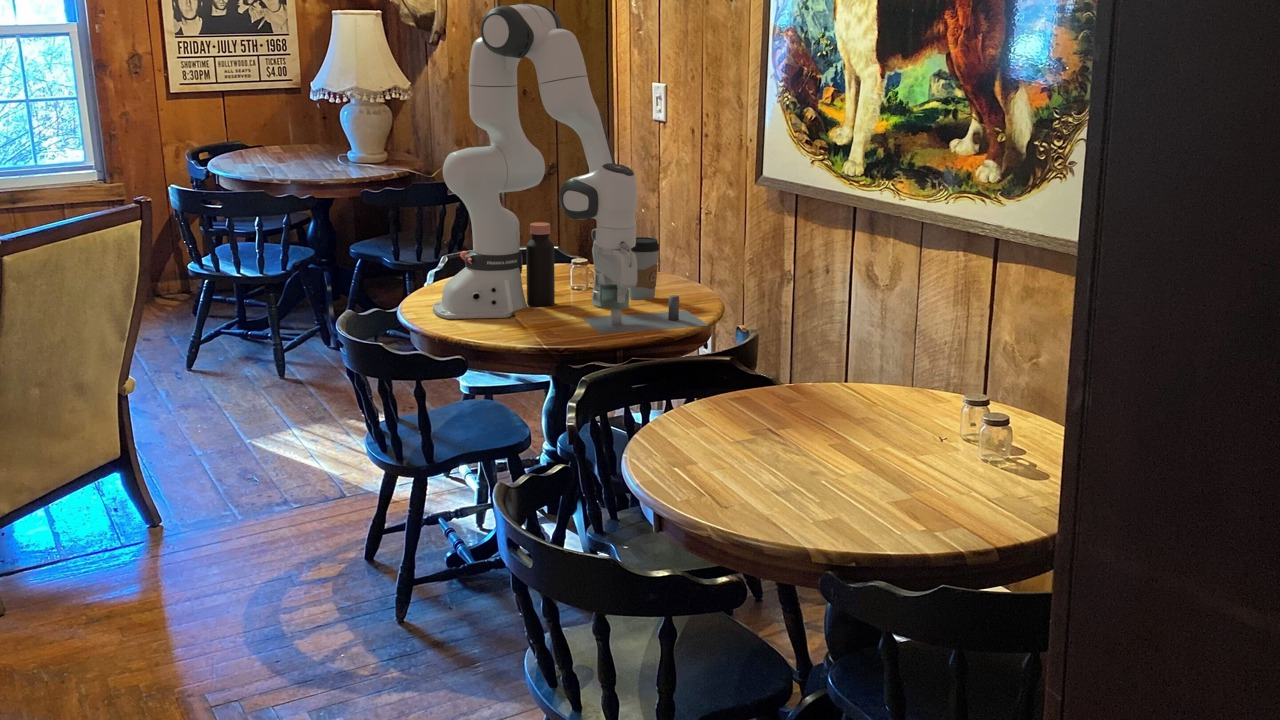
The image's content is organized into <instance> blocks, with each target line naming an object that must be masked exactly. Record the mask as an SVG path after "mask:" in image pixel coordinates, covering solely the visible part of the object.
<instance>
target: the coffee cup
mask: <svg viewBox="0 0 1280 720" xmlns="http://www.w3.org/2000/svg"><path fill="white" fill-rule="evenodd" d="M631 251H632V252H633V253H634V254H635V255H636V259H637V285H636V287H632V288H628V289H629V298H630V300H632V301H647V300H649V301H650V300H654V298H655V296H656V286H657V279H658V277H657V276H658V266H659V265H658V262H659V261H658V260H659V251H660V243H658V239H657V238H653V237H647V236H645V237H644V236H640V237H639V236H638V237H637V236H636V245H635V247H633V248H631Z"/></svg>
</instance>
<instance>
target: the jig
mask: <svg viewBox="0 0 1280 720" xmlns="http://www.w3.org/2000/svg"><path fill="white" fill-rule="evenodd" d="M622 310H623V308H610V316H609V315H608V316H595V317H583V318H582V320H584V321H585V322H586V324H589V326H591V327H592V328H593V329H594V330H595V331H596V332H597V333H598V334H600V335H605V334H607V335H608V334H619V333H630V332H644V331H655V330H658V331H659V330H668V329H679V328H680V329H683V328H694V327H705V326H707V327H708V326H710V325H709V324H707V323H706V322H705V321H703V320H702V319H700V318H698V317H697V316H696V315H694V314H692V313H691V312H690V311H688V310H680V295H677V294H676V295H674V294H673V295H669V296H668V311H664V312H663V311H661V312H650V313H637V314H635V313H634V314H623V315H622Z"/></svg>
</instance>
